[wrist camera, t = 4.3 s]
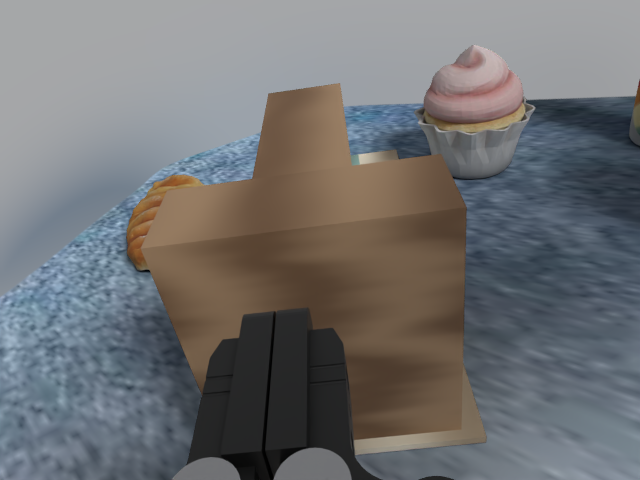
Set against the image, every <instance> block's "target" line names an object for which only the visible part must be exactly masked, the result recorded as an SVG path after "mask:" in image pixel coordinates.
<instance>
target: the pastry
mask: <svg viewBox="0 0 640 480" xmlns="http://www.w3.org/2000/svg"><path fill="white" fill-rule="evenodd" d="M197 186H205V185H204V184H202V183H201V182H200V181H199V180H198V179H197V178H195V177H192V176H187V175H172V176H169V177H167V178H166V179H164V180H163V181H160V182H155V183H154V184H153V187H152V188H151V189H150V190H149V191H148V194H147V196H146V197H145V198H144V199H142V200H141V201H140V202H139V204H138V205H137V206H136V207H135V208H134V210H133V214H132V217H131V218H130V220H129V225H128V228H127V237H126V238H127V242H128V249H127V254H128V256H129V257H130V259H131V260H132V262H133V263H134V265H135V266H136V268H137V270H140V271H141V270H149V268H148V265H147V263H146V260H145V258H144V256H143V253H142V251H141V246H142V244H143V242H144V240H145V238H146V236H147V233H148V231H149V229H150V227H151V225H152V222H153V220H154V218H155V216H156V214H157V211H158V209H159V207H160V205H161V203H162V201H163V198H164V196H165V194H166V192H167V190H175V189H182V188H190V187H197Z"/></svg>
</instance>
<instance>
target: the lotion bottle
mask: <svg viewBox="0 0 640 480" xmlns="http://www.w3.org/2000/svg"><path fill="white" fill-rule="evenodd" d="M629 136H630V138H631V140H632V141H633V142H634V143H635V144H637V145H639V146H640V81H639V86H638V90H637V95H636V99H635V104H634V109H633V114H632V119H631V124H630V131H629Z"/></svg>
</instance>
